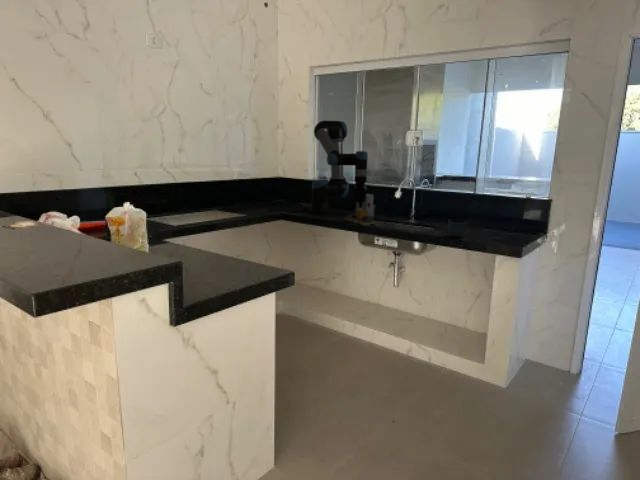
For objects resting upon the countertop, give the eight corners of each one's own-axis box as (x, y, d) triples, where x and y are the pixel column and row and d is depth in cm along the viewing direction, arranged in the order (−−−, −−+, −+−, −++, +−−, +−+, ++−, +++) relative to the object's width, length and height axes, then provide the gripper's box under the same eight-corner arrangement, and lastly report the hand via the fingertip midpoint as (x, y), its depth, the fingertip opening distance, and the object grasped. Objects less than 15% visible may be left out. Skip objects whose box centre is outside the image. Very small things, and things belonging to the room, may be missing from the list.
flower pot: (446, 234, 261) (448, 219, 259) (462, 235, 260) (464, 219, 258) (449, 237, 252) (451, 222, 250) (465, 238, 251) (467, 222, 249)
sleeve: (356, 219, 291) (356, 210, 290) (363, 218, 294) (363, 209, 293) (359, 220, 288) (360, 210, 286) (367, 219, 291) (367, 210, 289)
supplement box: (366, 217, 309) (367, 195, 305) (355, 215, 314) (356, 194, 310) (373, 215, 316) (374, 194, 312) (362, 214, 321) (363, 193, 317)
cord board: (344, 220, 297) (344, 212, 296) (359, 218, 303) (359, 211, 302) (363, 225, 280) (363, 217, 279) (378, 224, 286) (378, 216, 285)
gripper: (350, 175, 290) (348, 211, 296) (362, 176, 279) (360, 214, 285) (359, 174, 294) (358, 210, 299) (371, 176, 283) (370, 213, 289)
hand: (359, 212), depth 292 cm, fingers closed
